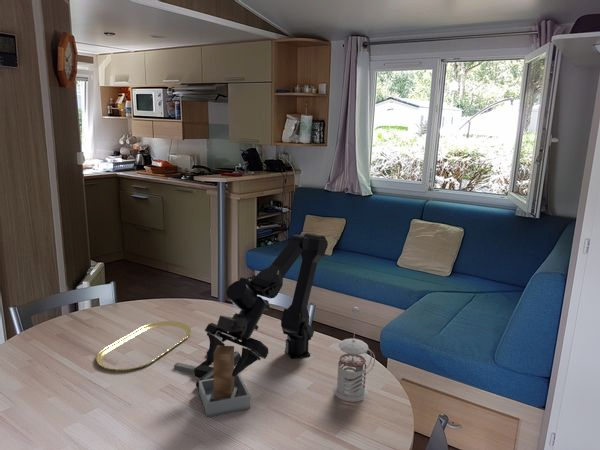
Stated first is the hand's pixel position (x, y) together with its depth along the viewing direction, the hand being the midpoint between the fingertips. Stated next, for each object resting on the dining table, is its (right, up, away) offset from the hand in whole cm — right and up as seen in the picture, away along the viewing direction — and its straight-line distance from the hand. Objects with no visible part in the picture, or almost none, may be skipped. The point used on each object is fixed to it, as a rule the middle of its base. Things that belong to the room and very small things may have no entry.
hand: (220, 370), depth 119 cm
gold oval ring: (-29, -3, +31) cm, 43 cm away
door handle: (-8, -6, +19) cm, 21 cm away
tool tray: (0, -9, +3) cm, 10 cm away
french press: (+36, -9, +10) cm, 38 cm away
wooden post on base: (+1, -8, +3) cm, 9 cm away
